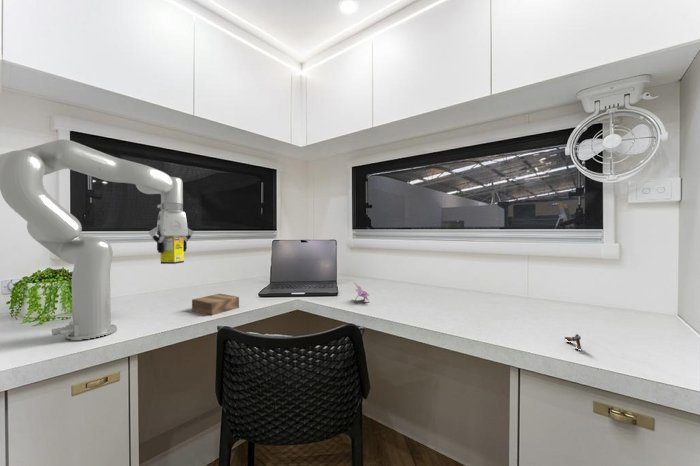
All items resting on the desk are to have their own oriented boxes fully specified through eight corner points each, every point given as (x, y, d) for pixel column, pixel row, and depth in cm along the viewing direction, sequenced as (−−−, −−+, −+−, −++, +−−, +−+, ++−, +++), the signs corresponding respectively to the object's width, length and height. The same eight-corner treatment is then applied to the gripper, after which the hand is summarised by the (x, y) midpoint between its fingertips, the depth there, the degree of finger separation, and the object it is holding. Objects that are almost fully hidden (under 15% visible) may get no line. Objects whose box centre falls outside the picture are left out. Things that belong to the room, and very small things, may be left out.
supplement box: (184, 262, 126) (184, 235, 126) (174, 264, 120) (174, 236, 120) (170, 262, 127) (170, 235, 127) (160, 264, 121) (160, 236, 121)
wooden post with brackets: (577, 351, 85) (575, 333, 87) (566, 352, 93) (564, 336, 94) (585, 351, 85) (582, 334, 87) (573, 353, 92) (571, 336, 94)
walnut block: (211, 316, 121) (211, 303, 121) (192, 311, 127) (192, 299, 127) (239, 308, 132) (238, 297, 132) (219, 304, 139) (219, 293, 138)
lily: (368, 308, 136) (376, 289, 138) (346, 298, 136) (354, 279, 139) (365, 309, 146) (372, 292, 149) (345, 300, 147) (352, 283, 149)
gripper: (152, 206, 114) (152, 254, 114) (198, 209, 128) (198, 251, 128) (143, 207, 118) (143, 252, 118) (189, 209, 132) (189, 250, 133)
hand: (172, 251), depth 123 cm, fingers closed on supplement box, 8 cm apart
